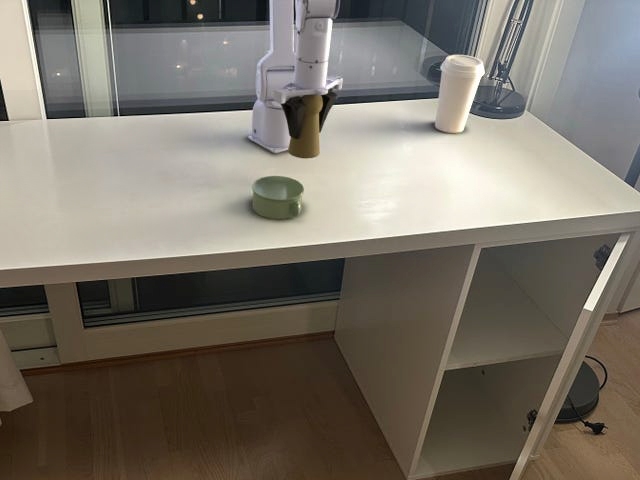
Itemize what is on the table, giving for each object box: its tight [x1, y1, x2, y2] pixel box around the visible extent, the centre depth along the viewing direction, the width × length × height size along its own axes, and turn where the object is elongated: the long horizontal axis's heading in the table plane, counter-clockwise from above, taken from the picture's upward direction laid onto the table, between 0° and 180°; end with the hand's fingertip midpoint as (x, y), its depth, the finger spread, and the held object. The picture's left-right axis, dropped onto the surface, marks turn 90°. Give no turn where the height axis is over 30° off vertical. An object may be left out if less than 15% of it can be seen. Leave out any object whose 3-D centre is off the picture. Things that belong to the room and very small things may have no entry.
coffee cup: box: [434, 54, 485, 134], centre depth 158 cm, size 10×10×15 cm
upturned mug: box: [251, 175, 305, 220], centre depth 129 cm, size 11×9×4 cm
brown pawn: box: [287, 94, 323, 159], centre depth 129 cm, size 6×6×11 cm
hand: (304, 134), depth 130 cm, fingers closed on brown pawn, 5 cm apart
